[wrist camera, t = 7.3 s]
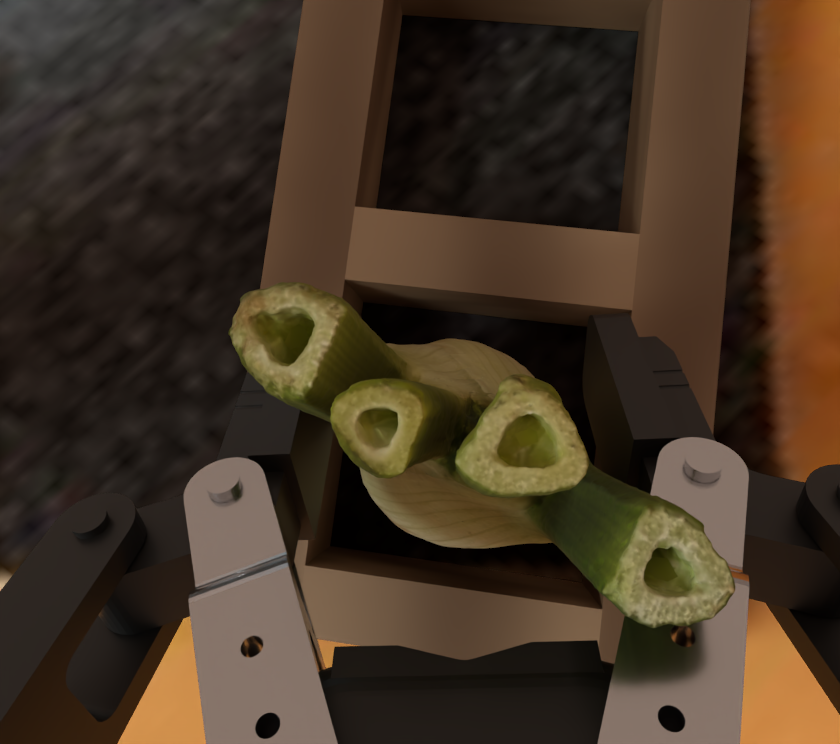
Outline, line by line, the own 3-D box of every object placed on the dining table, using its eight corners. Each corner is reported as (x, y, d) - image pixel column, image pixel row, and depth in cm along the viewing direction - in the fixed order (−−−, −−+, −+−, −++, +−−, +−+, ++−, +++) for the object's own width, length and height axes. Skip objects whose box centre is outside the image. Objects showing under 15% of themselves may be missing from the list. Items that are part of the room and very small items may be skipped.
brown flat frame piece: (249, 594, 20) (205, 625, 16) (379, -300, 22) (363, -426, 19) (655, 656, 19) (694, 703, 15) (742, -290, 21) (791, -422, 18)
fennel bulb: (591, 486, 18) (839, 582, 6) (437, 581, 18) (378, 868, 6) (476, 309, 19) (492, 76, 7) (329, 401, 19) (83, 334, 7)
